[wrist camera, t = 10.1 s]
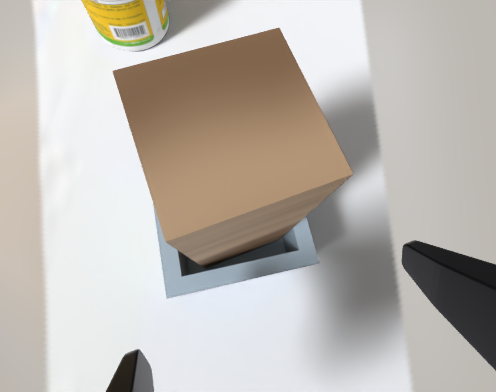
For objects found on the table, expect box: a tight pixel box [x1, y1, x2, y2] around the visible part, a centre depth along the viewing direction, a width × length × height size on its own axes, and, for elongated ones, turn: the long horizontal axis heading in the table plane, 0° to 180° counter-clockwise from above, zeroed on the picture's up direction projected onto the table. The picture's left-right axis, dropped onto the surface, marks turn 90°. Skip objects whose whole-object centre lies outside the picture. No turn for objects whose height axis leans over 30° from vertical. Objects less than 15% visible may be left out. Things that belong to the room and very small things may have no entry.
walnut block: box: [113, 28, 353, 269], centre depth 12 cm, size 4×4×11 cm
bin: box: [153, 203, 319, 298], centre depth 17 cm, size 7×7×4 cm
